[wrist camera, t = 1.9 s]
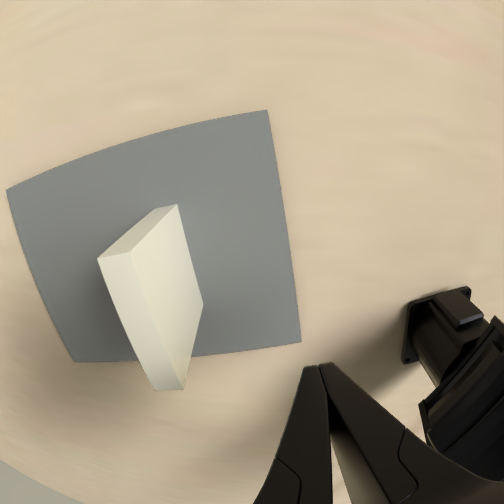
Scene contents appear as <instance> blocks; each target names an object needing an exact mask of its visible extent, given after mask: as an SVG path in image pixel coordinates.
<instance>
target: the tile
mask: <svg viewBox="0 0 504 504" xmlns="http://www.w3.org/2000/svg"><path fill="white" fill-rule="evenodd" d="M97 260H98V263H99V266H100V269H101V272H102V274H103V277H104V280H105V282H106V285H107V288H108V290H109V293H110V295H111V298H112V301H113V303H114V305H115V308H116V310H117V313H118V315H119V317H120V320H121V322H122V324H123V327H124V329H125V331H126V334H127V336H128V338H129V340H130V342H131V345H132V347H133V349H134V351H135V353H136V355H137V357H138V359H139V361H140V363H141V365H142V367H143V369H144V371H145V373H146V375H147V377H148V379H149V381H150V383H151V385H152V387H153V389H154V390H155V391H164V390H183V389H184V384H185V380H186V376H187V371H188V367H189V363H190V358H191V354H192V350H193V345H194V341H195V337H196V333H197V329H198V325H199V321H200V316H201V312H202V308H203V300H202V297H201V293H200V290H199V286H198V283H197V279H196V276H195V272H194V268H193V265H192V261H191V257H190V253H189V249H188V246H187V242H186V238H185V234H184V230H183V226H182V222H181V218H180V214H179V210H178V205H177V204H174V205H170V206H165V207H161V208H156V209H154V210H153V211H151V212H150V213H149V214H148V215H146V216H145V217H144V218H143V219H142V220H140V221H139V222H138V223H137V224H136V225H134V226H133V227H132V228H131V229H130V230H129V231H127V232H126V233H125V234H124V235H123V236H122V237H121V238H119V239H118V240H117V241H116V242H115V243H114V244H113V245H111V246H110V247H109V248H108V249H107V250H106V251H105V252H104V253H102V254H101V255H100V256H99V257H98V258H97Z"/></svg>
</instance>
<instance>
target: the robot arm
mask: <svg viewBox="0 0 504 504" xmlns="http://www.w3.org/2000/svg"><path fill="white" fill-rule="evenodd" d="M470 297H471V289H470V288H469V287H468V286H465V287H462V288H458V289H454V290H450V291H447V292H443V293H440V294H436V295H434V296H430V297H426V298H423V299H419V300H415V301H412V302H411V303H410V304H409V305H408V310H407V319H406V328H405V336H404V343H403V350H402V357H401V361H402V362H403V364H409V363H413V362H416V361H420V363H421V364H422V366H423V368H424V369H425V371H426V372H427V374H428V376H429V377H430V379H431V381H432V382H433V384H434V385H435V387H436V389H435V390H434V391H433V392H432V393H431V394H430V395H429V396H428V397H427V398H426V399H425V400H424V399H423V400H422V401H421V402H420V403H419V404H418V406H419V410H420V415H421V419H422V424H423V429H424V434H425V439H426V443H427V444H426V443H425V442H423V441H422V440H421V439H420V438H418V437H417V436H416V435H415V434H414V433H412V432H411V431H410V430H409V429H408V428H406V427H405V426H404V425H403V424H402V423H401V422H400V421H398V420H397V419H396V418H395V417H394V416H393V415H391V414H390V413H389V412H388V411H387V410H386V409H385V408H383V407H382V406H381V405H380V404H379V403H378V402H377V401H376V400H374V399H373V398H372V397H371V396H370V395H369V394H368V393H367V392H365V391H364V390H363V389H362V388H361V387H360V386H359V385H358V384H356V383H355V382H354V381H353V380H352V379H351V378H350V377H349V376H347V375H346V374H345V373H344V372H343V371H342V370H341V369H340V368H339V367H338V366H336V365H335V364H334V363H333V362H327V363H322V364H319V366H318V365H312V366H306V367H304V369H303V372H302V375H301V378H300V382H299V385H298V388H297V392H296V395H295V398H294V401H293V405H292V408H291V411H290V414H289V417H288V420H287V423H286V426H285V429H284V432H283V435H282V438H281V441H280V444H279V446H278V449H277V452H276V455H275V458H274V460H273V463H272V465H271V468H270V471H269V473H268V475H267V478H266V480H265V482H264V484H263V486H262V488H261V490H260V492H259V494H258V496H257V498H256V499H255V501H254V503H253V504H333V490H332V460H331V442H332V445H333V448H334V451H335V454H336V457H337V460H338V463H339V466H340V469H341V473H342V476H343V479H344V482H345V485H346V488H347V491H348V494H349V497H350V500H351V503H352V504H504V323H503V322H502V321H501V320H500V319H498V318H497V317H496V316H495V315H494V317H493V318H492V320H491V323H490V324H489V323H488V322H487V321H486V320H485V319H484V318H483V317H484V314H483V313H482V311H480V310H479V309H478V308H477V307H476V306H475V305H474V304H473V303H472V302H471V301H470ZM413 307H415V308H414V309H413ZM405 428H406V429H405Z"/></svg>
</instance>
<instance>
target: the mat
mask: <svg viewBox="0 0 504 504" xmlns="http://www.w3.org/2000/svg"><path fill="white" fill-rule="evenodd" d="M6 193H7V197H8V201H9V205H10V209H11V212H12V216H13V220H14V223H15V226H16V230H17V233H18V236H19V239H20V242H21V245H22V248H23V251H24V254H25V257H26V259H27V262H28V265H29V267H30V270H31V273H32V275H33V278H34V280H35V283H36V285H37V287H38V290H39V292H40V294H41V297H42V299H43V301H44V303H45V306H46V308H47V310H48V312H49V314H50V316H51V319H52V321H53V323H54V325H55V327H56V329H57V331H58V333H59V335H60V336H61V338H62V340H63V342H64V344H65V346H66V348H67V350H68V351H69V353H70V355H71V357H72V359H73V360H74V362H117V361H139V359H138V357H137V355H136V353H135V351H134V349H133V347H132V345H131V342H130V340H129V338H128V336H127V334H126V331H125V329H124V327H123V324H122V322H121V320H120V317H119V315H118V313H117V310H116V308H115V305H114V303H113V301H112V298H111V295H110V293H109V290H108V288H107V285H106V282H105V280H104V277H103V274H102V272H101V269H100V266H99V263H98V260H97V258H98V257H99V256H100V255H101V254H102V253H104V252H105V251H106V250H107V249H108V248H109V247H110V246H111V245H113V244H114V243H115V242H116V241H117V240H118V239H119V238H121V237H122V236H123V235H124V234H125V233H126V232H127V231H129V230H130V229H131V228H132V227H133V226H134V225H136V224H137V223H138V222H139V221H140V220H142V219H143V218H144V217H145V216H146V215H148V214H149V213H150V212H151V211H153V210H154V209H156V208H161V207H165V206H170V205H174V204H177V205H178V210H179V214H180V218H181V222H182V226H183V230H184V234H185V238H186V242H187V246H188V249H189V253H190V257H191V261H192V265H193V268H194V272H195V276H196V279H197V283H198V286H199V290H200V293H201V297H202V300H203V308H202V312H201V316H200V321H199V325H198V329H197V333H196V337H195V341H194V345H193V350H192V354H191V357H195V356H205V355H215V354H224V353H232V352H240V351H247V350H254V349H261V348H268V347H275V346H281V345H287V344H293V343H299V342H302V340H301V331H300V323H299V314H298V306H297V298H296V290H295V282H294V275H293V267H292V260H291V253H290V246H289V239H288V232H287V225H286V218H285V212H284V205H283V199H282V192H281V186H280V180H279V174H278V168H277V162H276V156H275V150H274V144H273V138H272V133H271V127H270V122H269V116H268V111H267V110H262V111H256V112H250V113H244V114H238V115H233V116H228V117H223V118H218V119H213V120H208V121H203V122H199V123H195V124H190V125H186V126H182V127H178V128H174V129H170V130H166V131H162V132H159V133H155V134H152V135H148V136H145V137H141V138H138V139H134V140H131V141H128V142H125V143H121V144H118V145H115V146H112V147H109V148H106V149H103V150H100V151H98V152H95V153H92V154H89V155H86V156H84V157H81V158H78V159H76V160H73V161H70V162H68V163H65V164H63V165H60V166H58V167H55V168H53V169H51V170H48V171H46V172H44V173H41V174H39V175H37V176H34V177H32V178H30V179H28V180H26V181H23V182H21V183H19V184H17V185H15V186H13V187H11V188H9V189H7V190H6Z"/></svg>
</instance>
